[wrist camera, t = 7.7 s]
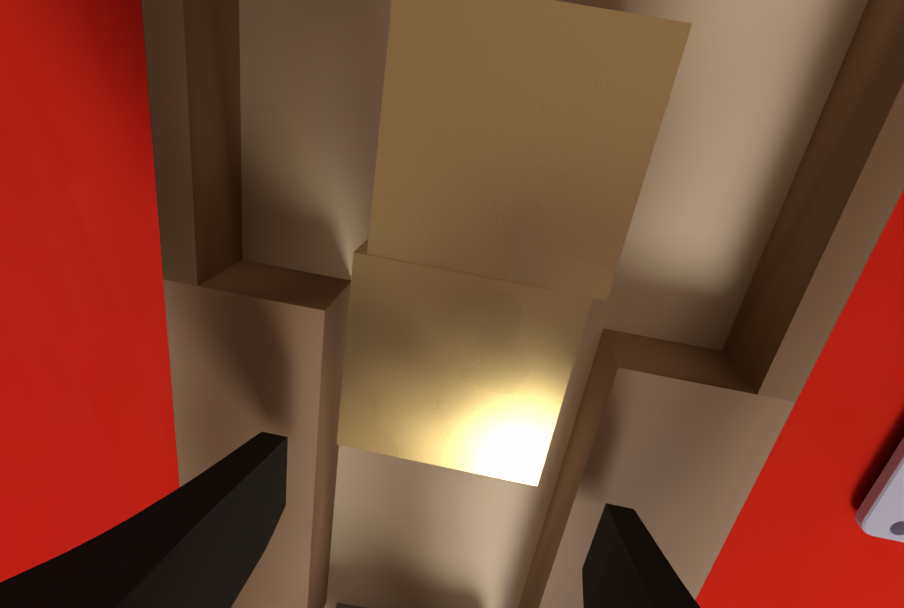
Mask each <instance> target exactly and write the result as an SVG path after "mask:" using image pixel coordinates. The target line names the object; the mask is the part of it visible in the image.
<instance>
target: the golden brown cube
mask: <svg viewBox="0 0 904 608" xmlns="http://www.w3.org/2000/svg"><path fill="white" fill-rule="evenodd" d="M691 26H692V23H688V22H682V21H676V20H670V19H664V18H658V17H652V16H646V15H640V14H634V13H628V12H622V11H616V10H610V9H604V8H598V7H592V6H586V5H580V4H574V3H568V2H562V1H556V0H392V5H391V15H390V26H389V36H388V46H387V56H386V66H385V76H384V86H383V97H382V107H381V117H380V127H379V137H378V147H377V157H376V168H375V178H374V188H373V198H372V208H371V218H370V228H369V239H368V249H367V254H368V255H373V256H379V257H384V258H389V259H394V260H399V261H404V262H409V263H415V264H420V265H425V266H430V267H435V268H440V269H445V270H451V271H456V272H461V273H466V274H471V275H476V276H481V277H487V278H492V279H497V280H502V281H507V282H512V283H517V284H523V285H528V286H533V287H538V288H543V289H548V290H553V291H559V292H564V293H569V294H574V295H579V296H584V297H589V298H595V299H600V300H605V301H607V298H608V295H609V291H610V288H611V285H612V282H613V278H614V275H615V272H616V269H617V266H618V262H619V259H620V256H621V253H622V249H623V246H624V243H625V240H626V236H627V233H628V230H629V227H630V224H631V220H632V217H633V214H634V211H635V207H636V204H637V201H638V198H639V194H640V191H641V188H642V185H643V181H644V178H645V175H646V172H647V169H648V165H649V162H650V159H651V156H652V152H653V149H654V146H655V143H656V139H657V136H658V133H659V130H660V126H661V123H662V120H663V117H664V114H665V110H666V107H667V104H668V101H669V97H670V94H671V91H672V88H673V84H674V81H675V78H676V75H677V72H678V68H679V65H680V62H681V59H682V55H683V52H684V49H685V46H686V42H687V39H688V36H689V33H690V29H691Z"/></svg>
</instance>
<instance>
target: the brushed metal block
mask: <svg viewBox="0 0 904 608" xmlns="http://www.w3.org/2000/svg"><path fill="white" fill-rule="evenodd" d="M335 608H365V607H359V606H354V605H348V604H343V603H338V602H337V604H336V607H335Z"/></svg>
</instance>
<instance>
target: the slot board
mask: <svg viewBox="0 0 904 608" xmlns="http://www.w3.org/2000/svg"><path fill="white" fill-rule="evenodd" d="M556 1H562V2H568V3H574V4H580V5H586V6H592V7H598V8H604V9H610V10H616V11H622V12H628V13H634V14H640V15H646V16H652V17H658V18H664V19H670V20H676V21H682V22H688V23H692V26H691V29H690V33H689V36H688V39H687V42H686V46H685V49H684V52H683V55H682V59H681V62H680V65H679V68H678V72H677V75H676V78H675V81H674V84H673V88H672V91H671V94H670V97H669V101H668V104H667V107H666V110H665V114H664V117H663V120H662V123H661V126H660V130H659V133H658V136H657V139H656V143H655V146H654V149H653V152H652V156H651V159H650V162H649V165H648V169H647V172H646V175H645V178H644V181H643V185H642V188H641V191H640V194H639V198H638V201H637V204H636V207H635V211H634V214H633V217H632V220H631V224H630V227H629V230H628V233H627V236H626V240H625V243H624V246H623V249H622V253H621V256H620V259H619V262H618V266H617V269H616V272H615V275H614V278H613V282H612V285H611V288H610V291H609V295H608V298H607V301H605V300H600V299H595V298H593V300H592V303H591V307H590V310H589V313H588V317H587V320H586V324H585V327H584V330H583V334H582V337H581V340H580V344H579V347H578V350H577V354H576V357H575V361H574V364H573V367H572V371H571V374H570V377H569V381H568V384H567V388H566V391H565V394H564V398H563V401H562V404H561V408H560V411H559V414H558V418H557V421H556V425H555V428H554V431H553V435H552V438H551V441H550V445H549V448H548V451H547V455H546V458H545V462H544V465H543V468H542V472H541V475H540V478H539V482H538V485H537V486H534V485H529V484H524V483H520V482H515V481H510V480H505V479H500V478H495V477H490V476H486V475H481V474H476V473H471V472H466V471H461V470H457V469H452V468H447V467H442V466H437V465H432V464H427V463H423V462H418V461H413V460H408V459H403V458H398V457H394V456H389V455H384V454H379V453H374V452H369V451H365V450H360V449H355V448H350V447H345V446H340V445H337V433H338V422H339V410H340V399H341V388H342V376H343V365H344V353H345V342H346V330H347V319H348V307H349V296H350V284H351V273H352V261H353V252H354V251H355V250H356V249H357V248H358V247H359V246H360V245H361V244H362V243H363V242H364V241H365V240H367V239H368V238H369V228H370V218H371V208H372V198H373V188H374V178H375V168H376V157H377V147H378V137H379V127H380V117H381V107H382V97H383V86H384V76H385V66H386V56H387V46H388V36H389V26H390V15H391V5H392V0H141V3H142V15H143V28H144V41H145V53H146V66H147V79H148V91H149V104H150V116H151V129H152V142H153V154H154V167H155V180H156V192H157V205H158V217H159V230H160V243H161V255H162V268H163V281H164V293H165V306H166V318H167V331H168V344H169V356H170V369H171V381H172V394H173V407H174V419H175V432H176V445H177V457H178V470H179V482H180V487H181V486H183V485H184V484H186V483H187V482H189V481H190V480H192V479H193V478H195V477H196V476H198V475H199V474H201V473H202V472H204V471H205V470H207V469H208V468H210V467H211V466H212V465H214V464H215V463H217V462H218V461H220V460H221V459H223V458H224V457H226V456H227V455H228V454H230V453H231V452H233V451H234V450H236V449H237V448H238V447H240V446H241V445H243V444H244V443H246V442H247V441H248V440H250V439H251V438H253V437H254V436H256V435H257V434H259V433H261V432H266V433H271V434H276V435H281V436H286V437H288V448H287V481H286V506H285V508H284V510H283V513H282V515H281V517H280V519H279V522H278V524H277V526H276V529H275V531H274V533H273V535H272V537H271V539H270V541H269V544H268V546H267V548H266V550H265V551H264V553H263V555H262V557H261V558H260V560H259V562H258V563H257V565H256V567H255V568H254V570H253V572H252V574H251V575H250V577H249V579H248V580H247V582H246V584H245V585H244V587H243V589H242V590H241V592H240V594H239V595H238V597H237V599H236V600H235V602H234V604H233V605H232V607H231V608H335V607H336V604H337V602H338V603H343V604H348V605H354V606H359V607H365V608H584V605H583V584H582V568H583V565H584V562H585V559H586V557H587V554H588V551H589V548H590V546H591V543H592V540H593V537H594V535H595V532H596V529H597V526H598V524H599V521H600V518H601V515H602V512H603V510H604V507H605V504H606V503H608V504H613V505H617V506H622V507H627V508H632V509H634V510H635V511H636V513H637V514H638V516H639V517H640V519H641V520H642V522H643V523H644V525H645V526H646V528H647V530H648V531H649V533H650V534H651V536H652V537H653V539H654V540H655V542H656V543H657V545H658V546H659V548H660V549H661V551H662V552H663V554H664V556H665V557H666V559H667V560H668V562H669V563H670V565H671V566H672V568H673V569H674V571H675V572H676V574H677V575H678V576H679V578H680V579H681V581H682V582H683V584H684V585H685V587H686V588H687V590H688V591H689V592H690V594H691V595H692V597H693V598H694V600H695V599H696V598H697V596H698V594H699V592H700V590H701V588H702V586H703V584H704V582H705V580H706V578H707V576H708V574H709V572H710V570H711V568H712V566H713V564H714V562H715V560H716V558H717V556H718V554H719V552H720V550H721V548H722V546H723V544H724V542H725V540H726V538H727V536H728V534H729V532H730V531H731V529H732V527H733V525H734V523H735V521H736V519H737V517H738V515H739V513H740V511H741V509H742V507H743V505H744V503H745V501H746V499H747V497H748V495H749V493H750V491H751V489H752V487H753V485H754V483H755V481H756V479H757V477H758V475H759V473H760V471H761V469H762V467H763V466H764V464H765V462H766V460H767V458H768V456H769V454H770V452H771V450H772V448H773V446H774V444H775V442H776V440H777V438H778V436H779V434H780V432H781V430H782V428H783V426H784V424H785V422H786V420H787V418H788V416H789V414H790V412H791V410H792V408H793V406H794V404H795V402H796V400H797V399H798V397H799V395H800V393H801V391H802V389H803V387H804V385H805V383H806V381H807V379H808V377H809V375H810V373H811V371H812V369H813V367H814V365H815V363H816V361H817V359H818V357H819V355H820V353H821V351H822V349H823V347H824V345H825V343H826V341H827V339H828V337H829V335H830V333H831V332H832V330H833V328H834V326H835V324H836V322H837V320H838V318H839V316H840V314H841V312H842V310H843V308H844V306H845V304H846V302H847V300H848V298H849V296H850V294H851V292H852V290H853V288H854V286H855V284H856V282H857V280H858V278H859V276H860V274H861V272H862V270H863V268H864V267H865V265H866V263H867V261H868V259H869V257H870V255H871V253H872V251H873V249H874V247H875V245H876V243H877V241H878V239H879V237H880V235H881V233H882V231H883V229H884V227H885V225H886V223H887V221H888V219H889V217H890V215H891V213H892V211H893V209H894V207H895V205H896V203H897V201H898V200H899V198H900V196H901V194H902V192H903V190H904V0H556Z"/></svg>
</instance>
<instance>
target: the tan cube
mask: <svg viewBox="0 0 904 608" xmlns="http://www.w3.org/2000/svg"><path fill="white" fill-rule="evenodd" d="M368 239H369V238H368ZM368 239H367V240H365V241H364V242H363V243H362V244H361V245H360V246H359V247H358V248H357V249H356V250H355V251H354V252H353V261H352V273H351V284H350V296H349V307H348V319H347V330H346V342H345V353H344V365H343V376H342V388H341V399H340V410H339V422H338V433H337V445H340V446H345V447H350V448H355V449H360V450H365V451H369V452H374V453H379V454H384V455H389V456H394V457H398V458H403V459H408V460H413V461H418V462H423V463H427V464H432V465H437V466H442V467H447V468H452V469H457V470H461V471H466V472H471V473H476V474H481V475H486V476H490V477H495V478H500V479H505V480H510V481H515V482H520V483H524V484H529V485H534V486H537V485H538V482H539V478H540V475H541V472H542V468H543V465H544V462H545V458H546V455H547V451H548V448H549V445H550V441H551V438H552V435H553V431H554V428H555V425H556V421H557V418H558V414H559V411H560V408H561V404H562V401H563V398H564V394H565V391H566V388H567V384H568V381H569V377H570V374H571V371H572V367H573V364H574V361H575V357H576V354H577V350H578V347H579V344H580V340H581V337H582V334H583V330H584V327H585V324H586V320H587V317H588V313H589V310H590V307H591V303H592V300H593V298H589V297H584V296H579V295H574V294H569V293H564V292H559V291H553V290H548V289H543V288H538V287H533V286H528V285H523V284H517V283H512V282H507V281H502V280H497V279H492V278H487V277H481V276H476V275H471V274H466V273H461V272H456V271H451V270H445V269H440V268H435V267H430V266H425V265H420V264H415V263H409V262H404V261H399V260H394V259H389V258H384V257H379V256H373V255H368V254H367V249H368Z"/></svg>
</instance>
